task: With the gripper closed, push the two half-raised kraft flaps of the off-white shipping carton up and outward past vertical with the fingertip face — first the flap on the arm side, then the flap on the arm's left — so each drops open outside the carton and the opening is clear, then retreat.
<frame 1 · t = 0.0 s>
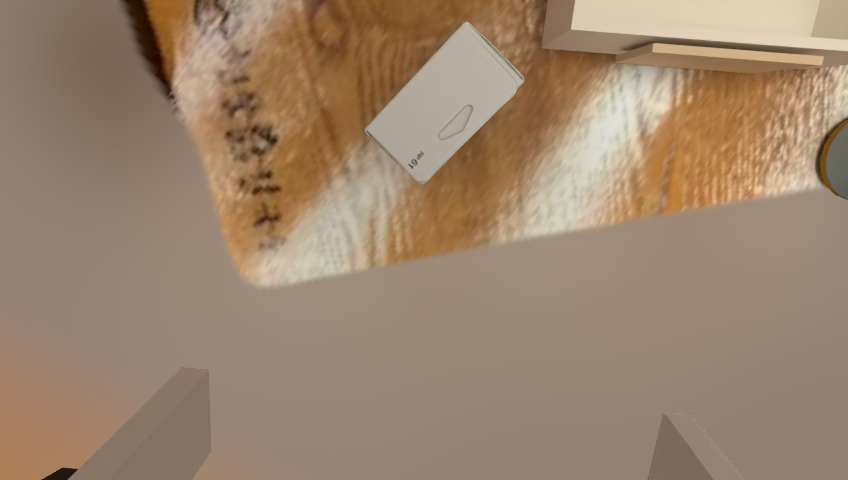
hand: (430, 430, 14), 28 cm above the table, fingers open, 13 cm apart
ink box: (444, 108, 39), on the table
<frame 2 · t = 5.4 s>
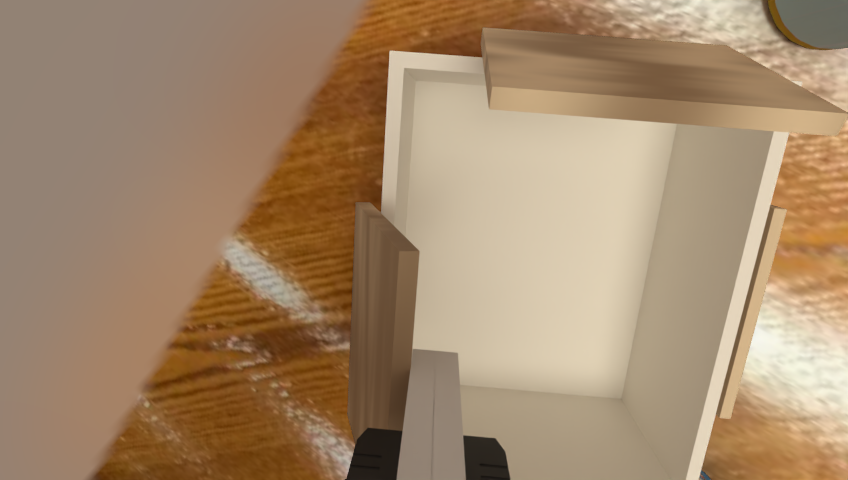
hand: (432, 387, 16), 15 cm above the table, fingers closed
carton: (524, 249, 30), on the table
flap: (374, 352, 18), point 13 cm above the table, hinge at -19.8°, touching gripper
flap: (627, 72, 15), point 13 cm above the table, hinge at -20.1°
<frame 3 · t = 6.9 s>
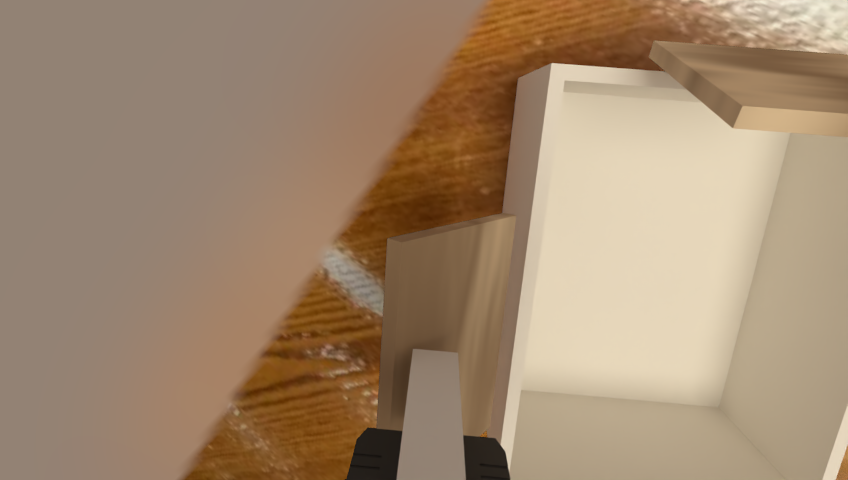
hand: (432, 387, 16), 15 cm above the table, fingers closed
carton: (627, 257, 30), on the table
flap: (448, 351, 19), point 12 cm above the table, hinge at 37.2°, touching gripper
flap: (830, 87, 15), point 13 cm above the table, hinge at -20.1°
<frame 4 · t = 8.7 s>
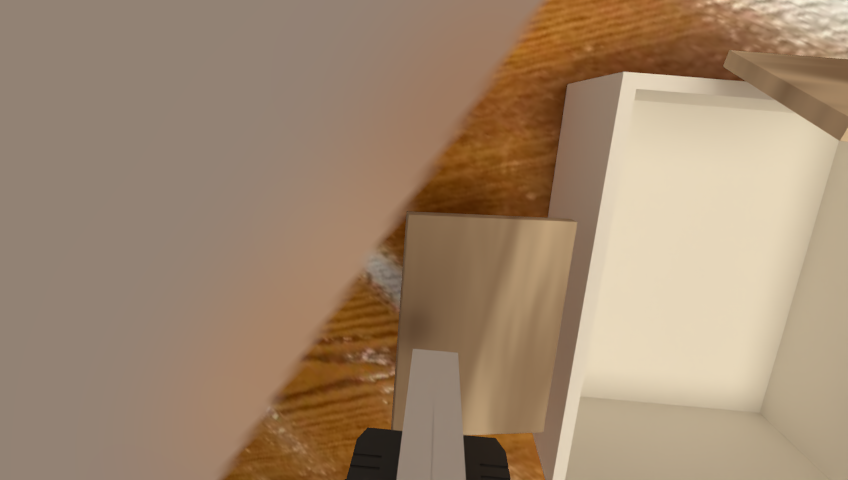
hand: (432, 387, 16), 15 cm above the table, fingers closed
carton: (671, 263, 30), on the table
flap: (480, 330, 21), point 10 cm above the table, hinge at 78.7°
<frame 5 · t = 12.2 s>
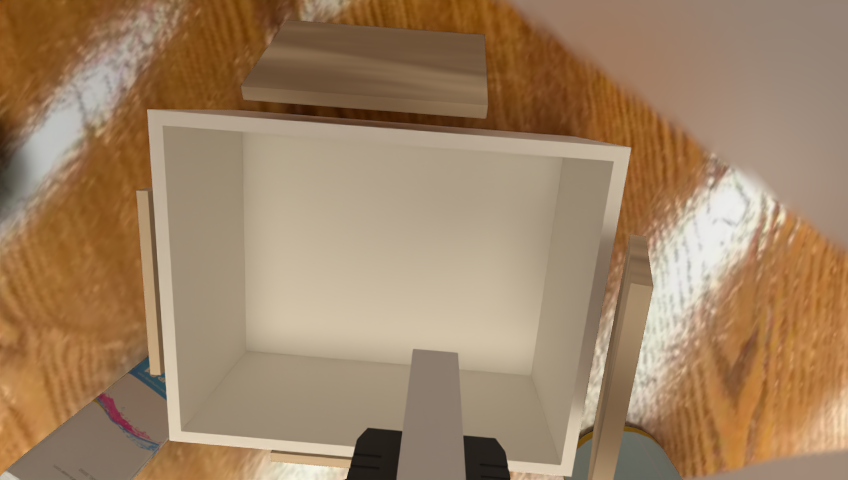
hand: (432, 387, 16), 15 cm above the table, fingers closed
bottle: (610, 461, 34), on the table
carton: (395, 253, 31), on the table
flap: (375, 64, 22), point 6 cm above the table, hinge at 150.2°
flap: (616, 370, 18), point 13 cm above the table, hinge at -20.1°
ink box: (146, 407, 35), on the table
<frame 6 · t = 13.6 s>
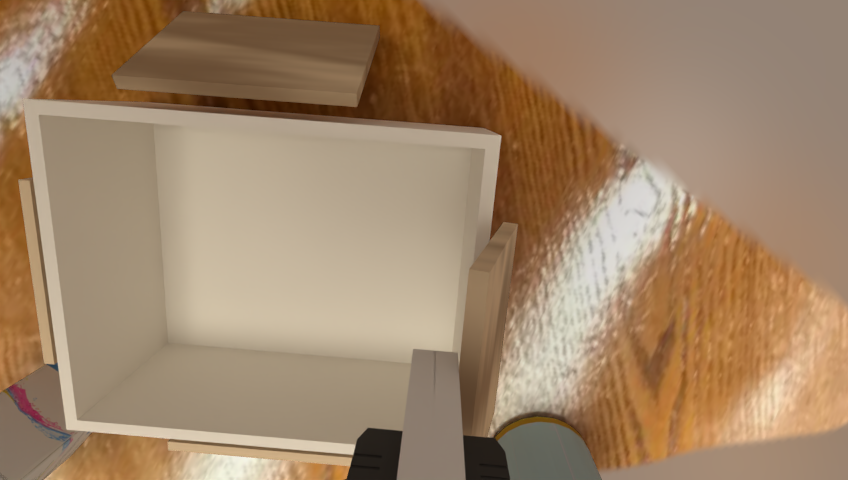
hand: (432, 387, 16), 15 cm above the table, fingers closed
bottle: (535, 452, 35), on the table
carton: (312, 244, 31), on the table
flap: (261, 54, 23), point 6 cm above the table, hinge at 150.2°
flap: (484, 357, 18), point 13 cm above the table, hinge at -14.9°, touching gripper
ink box: (73, 399, 35), on the table
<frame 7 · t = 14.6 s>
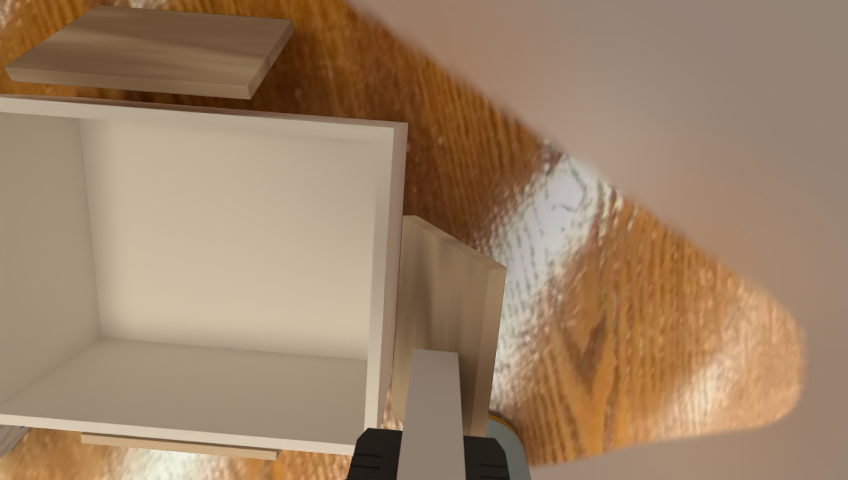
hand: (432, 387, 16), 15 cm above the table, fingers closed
bottle: (472, 447, 35), on the table
carton: (243, 239, 31), on the table
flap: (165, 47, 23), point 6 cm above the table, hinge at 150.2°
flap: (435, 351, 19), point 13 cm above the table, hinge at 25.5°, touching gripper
ink box: (12, 394, 35), on the table
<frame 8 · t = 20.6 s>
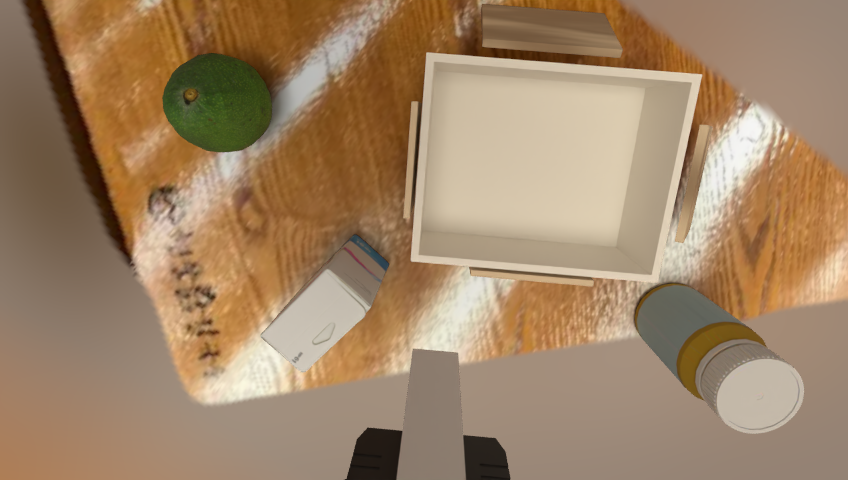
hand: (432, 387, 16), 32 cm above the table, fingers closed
fruit: (245, 105, 46), on the table
bottle: (666, 312, 50), on the table
carton: (528, 161, 46), on the table
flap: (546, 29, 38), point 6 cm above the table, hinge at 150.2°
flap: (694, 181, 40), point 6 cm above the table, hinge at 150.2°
ink box: (344, 275, 50), on the table
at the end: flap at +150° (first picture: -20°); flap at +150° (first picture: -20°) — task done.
